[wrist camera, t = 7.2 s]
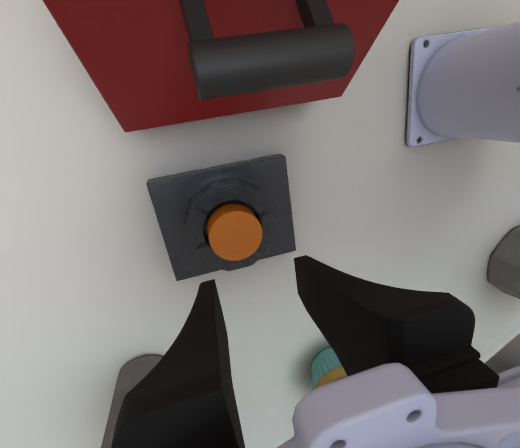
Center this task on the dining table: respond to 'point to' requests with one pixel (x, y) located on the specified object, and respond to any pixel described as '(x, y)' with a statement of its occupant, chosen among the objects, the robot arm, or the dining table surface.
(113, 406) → the flask
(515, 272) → the coffeepot
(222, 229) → the power button
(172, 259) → the switch box
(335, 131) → the dining table surface
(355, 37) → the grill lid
